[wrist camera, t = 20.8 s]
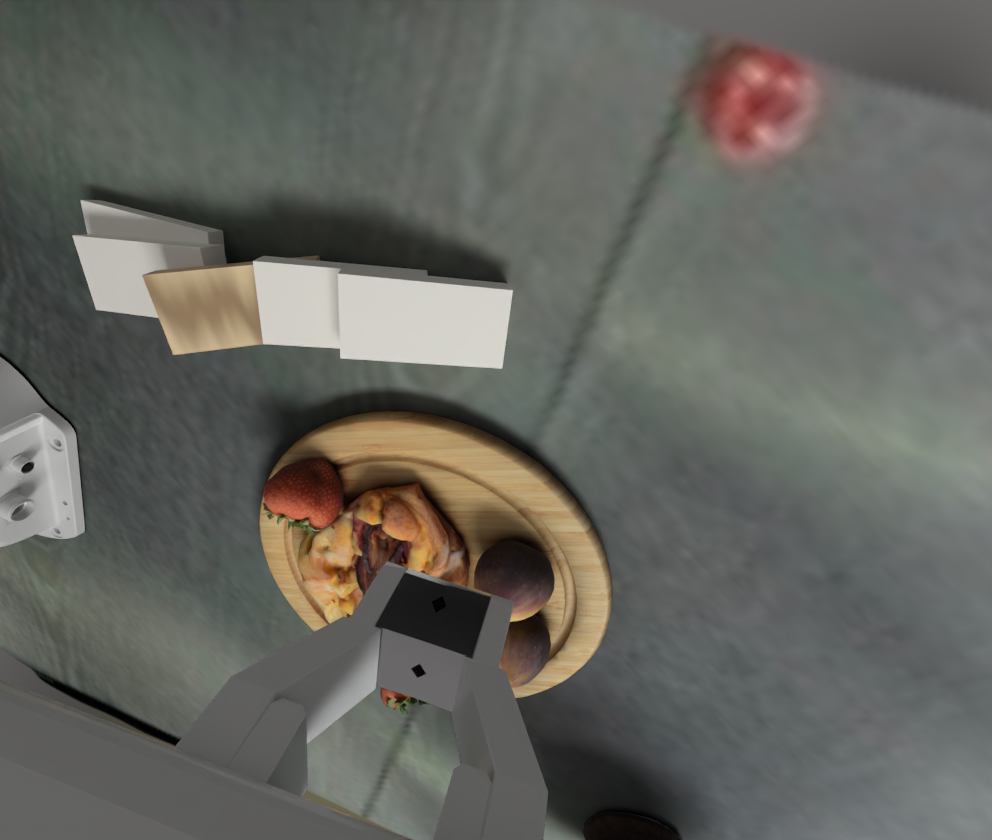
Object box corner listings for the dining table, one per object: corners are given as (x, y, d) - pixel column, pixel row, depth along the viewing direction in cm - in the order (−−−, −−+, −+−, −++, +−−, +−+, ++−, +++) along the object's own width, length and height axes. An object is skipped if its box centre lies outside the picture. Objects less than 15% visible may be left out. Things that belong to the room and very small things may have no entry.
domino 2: (216, 325, 32) (96, 309, 33) (237, 318, 33) (122, 304, 35) (199, 247, 29) (72, 235, 31) (223, 244, 31) (101, 233, 33)
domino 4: (424, 353, 31) (263, 343, 29) (424, 343, 32) (272, 334, 31) (427, 276, 28) (252, 260, 27) (427, 270, 30) (263, 255, 28)
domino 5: (502, 368, 30) (340, 358, 28) (497, 357, 32) (345, 347, 30) (512, 290, 28) (337, 273, 26) (507, 283, 29) (343, 267, 27)
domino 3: (333, 335, 32) (173, 354, 30) (335, 328, 33) (184, 346, 32) (316, 259, 29) (141, 275, 28) (319, 255, 31) (155, 270, 29)
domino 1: (214, 305, 33) (95, 272, 34) (234, 299, 35) (120, 269, 36) (207, 231, 31) (80, 199, 32) (229, 230, 33) (107, 199, 34)
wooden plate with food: (209, 463, 43) (127, 519, 36) (521, 345, 31) (492, 394, 24) (379, 691, 53) (342, 770, 46) (661, 669, 41) (670, 771, 34)
